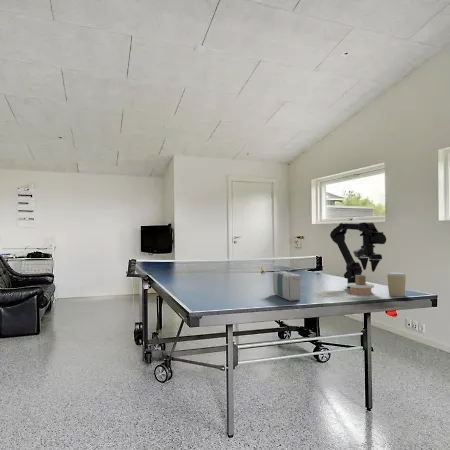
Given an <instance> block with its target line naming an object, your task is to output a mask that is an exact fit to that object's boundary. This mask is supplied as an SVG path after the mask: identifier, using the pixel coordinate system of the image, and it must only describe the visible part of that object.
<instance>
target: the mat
mask: <svg viewBox="0 0 450 450" xmlns="http://www.w3.org/2000/svg"><path fill="white" fill-rule="evenodd" d="M313 293H314V294H317V295H318V296H322V297H323V298H335V297H353V295H352V294H349V293H347V292H343V291H341V290H326V291H325V290H324V291H323V290H322V291H313Z"/></svg>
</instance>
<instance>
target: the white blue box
mask: <svg viewBox="0 0 450 450" xmlns="http://www.w3.org/2000/svg"><path fill="white" fill-rule="evenodd" d="M297 264H299V261H297V263H295V264H294V265H293V266H291V268H290V269H288V270H287V271H285V270H282V271H273V273H272V290H273V294H275V296H278V297H280V298H283V299H285V300H286V301H287V300H288V301H289V302H291V301H292V302H293V301H300V300H301V280H302V275H301V274H297V273H292V272H291V270H292V269H293V268H295V266H296V265H297Z"/></svg>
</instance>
